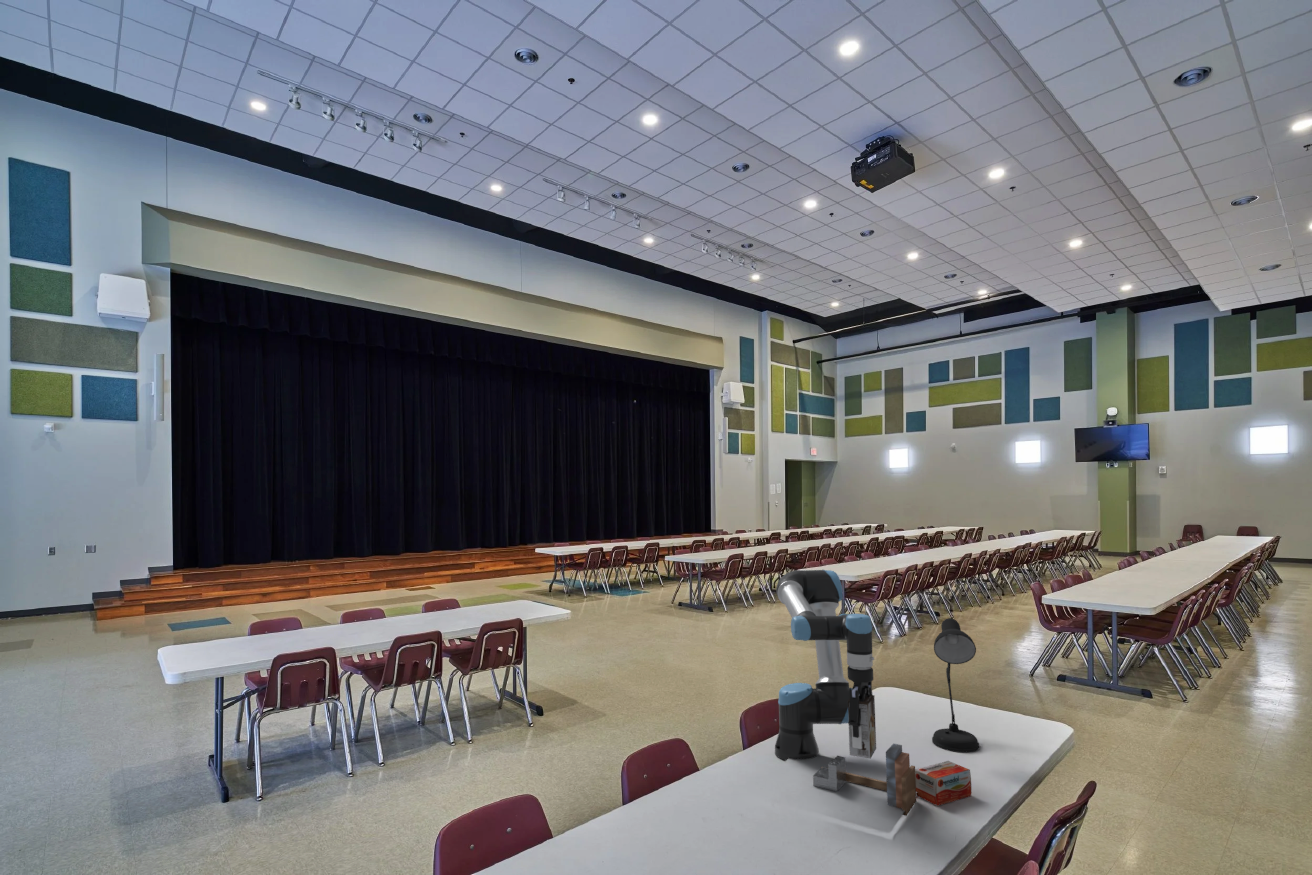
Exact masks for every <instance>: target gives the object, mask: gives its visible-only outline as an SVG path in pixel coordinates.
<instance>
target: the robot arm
mask: <svg viewBox="0 0 1312 875" xmlns="http://www.w3.org/2000/svg"><path fill="white" fill-rule="evenodd" d="M841 582H842V581H841V578H840V577H839V575H838V573H837V572H836V571H834V570H831V569H830V570H829V569H828V570H825V569H816V570H815V569H814V570H812V569H811V570H810V569H807V570H806V569H804V570H800V569H797V570H791V571H789V572H787V573H785V574H784V575H783V576H782V577H780V579H779V581H777V584H776V589H775V591H776V596H777V598H778V600H779V601H780V602H781V604H783V605H785V607H786V609H787V612H788V613H789V615H790V617H791V621H790V631H791V635H792V638H793V639H794V640H795V641H796V640H797V641H804V642H806V641H814V644H815V651H816V660H817V661H816V662H817V668H818V669H817V672H818V679H817V681H816V682H815V688H814V687H812V685H811V684H809V683H805V682H804V683H803V682H794V683H788V684H785V685H784V686H782V687H781V688H780V689H779V691H778V701H777V703H778V718H779V720H778V721H779V723H778V724H779V726H778V727H779V730H778V734H777V738H776V742H775V744H774V754H775V756H776V757H777V758H778V759H780V760H784V761H788V760H789V759H792V760H809V759H813V758H815V757H817V756H820V752H819V750H820V749H819V746H818V743H817V739H816V737H815V733H814V725H843V724H847V725H848V726H849V725H852V747H854V748H858V749H862V727H861V725H860V721H861V709H859V701H862V702H863V701H865V697H866V696H867V697H869V696H870V695H873V689H872V688H873V686H872V685H873V681H874V668H873V666H874V663H873V662H874V660H875V657H874V656H873V625H872V618H871V616H870V615H868V614H865V613H864V614H863V613H850V614H848V613H841V614H839V615H837V614H836V612H837V608H839V605H840V603H839V602H841V601H842V600H843V585H842V583H841ZM840 641H846V665H847V679H848V680H849V681H851V682H853V685H852V687H850V682H849V681H848V680H847V679H846V678H845V676H844V669H843V661H842V654H841V644H840ZM849 699H850V706H849V719H848V700H849Z"/></svg>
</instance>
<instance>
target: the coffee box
mask: <svg viewBox="0 0 1312 875" xmlns="http://www.w3.org/2000/svg"><path fill="white" fill-rule="evenodd" d="M875 704H876V703H875V695H873V694H872V695H870V696H869V697H867V696H866V697H865V701H863V702H862V701H859V709H861V721H860V725H861V727H862V749H858V748H854V747H852V725H849V724H848V741H849V742H848V745H849V746H848V747H849V756H853V757H858V758H863V759H864V758H865V759H869V760H870V759H872V757H873V755H874V754H875V752H876V750H877V732H876V730H877V729H876V728H877V727H876V708H875V707H876V706H875ZM849 706H850V699H849V700H848V719H849Z"/></svg>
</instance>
